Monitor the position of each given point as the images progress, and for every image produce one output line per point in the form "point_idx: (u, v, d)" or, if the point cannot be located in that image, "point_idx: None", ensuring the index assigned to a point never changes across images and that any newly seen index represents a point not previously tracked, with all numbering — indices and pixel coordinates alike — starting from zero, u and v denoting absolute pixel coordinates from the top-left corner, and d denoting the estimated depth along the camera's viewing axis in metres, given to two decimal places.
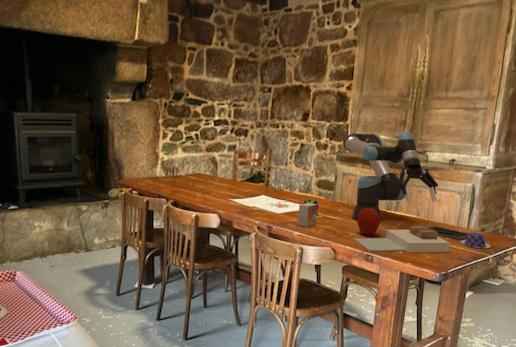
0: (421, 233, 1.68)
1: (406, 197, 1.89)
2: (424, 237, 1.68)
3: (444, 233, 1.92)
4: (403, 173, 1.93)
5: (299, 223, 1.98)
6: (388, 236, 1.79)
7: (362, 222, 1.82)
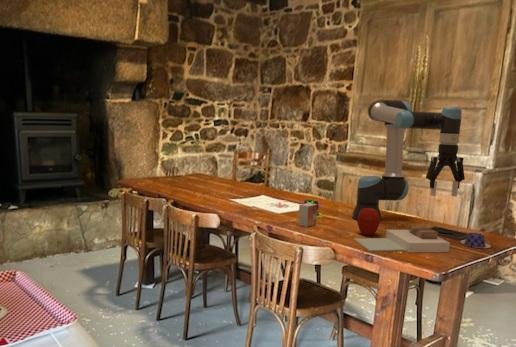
0: (421, 233, 1.68)
1: (432, 192, 1.72)
2: (424, 237, 1.68)
3: (444, 233, 1.92)
4: (435, 163, 1.68)
5: (299, 223, 1.98)
6: (388, 236, 1.79)
7: (362, 222, 1.82)
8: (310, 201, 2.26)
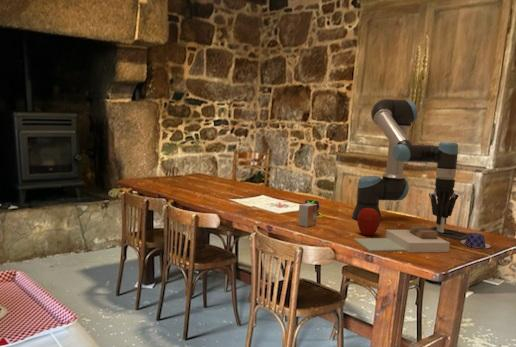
0: (421, 233, 1.68)
1: (438, 227, 1.74)
2: (424, 237, 1.68)
3: (444, 233, 1.92)
4: (435, 200, 1.71)
5: (299, 223, 1.98)
6: (388, 236, 1.79)
7: (362, 222, 1.82)
8: (311, 201, 2.26)
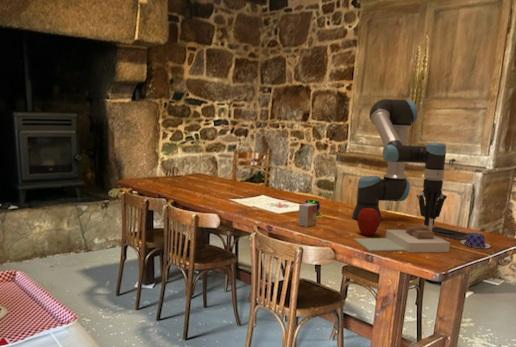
0: (417, 233, 1.68)
1: (426, 228, 1.73)
2: (420, 237, 1.68)
3: (444, 233, 1.92)
4: (423, 201, 1.70)
5: (299, 223, 1.98)
6: (388, 236, 1.79)
7: (362, 222, 1.82)
8: (311, 201, 2.26)
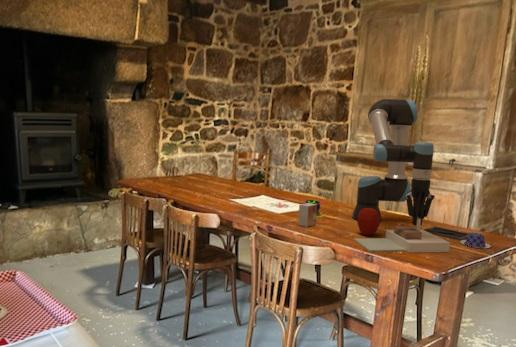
0: (405, 233, 1.67)
1: (414, 228, 1.73)
2: (408, 237, 1.67)
3: (445, 233, 1.92)
4: (410, 201, 1.69)
5: (299, 223, 1.98)
6: (388, 236, 1.79)
7: (362, 222, 1.82)
8: (312, 201, 2.26)
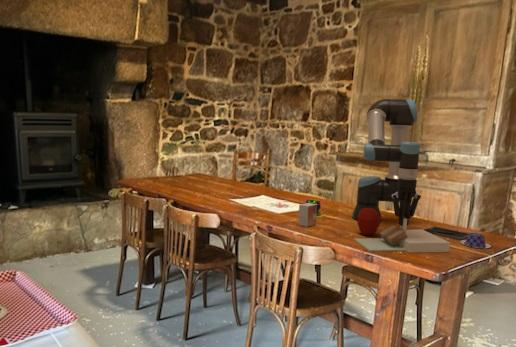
0: (390, 240, 1.66)
1: None
2: (394, 242, 1.66)
3: (445, 233, 1.92)
4: (396, 201, 1.68)
5: (299, 223, 1.98)
6: None
7: (362, 222, 1.82)
8: (312, 201, 2.27)
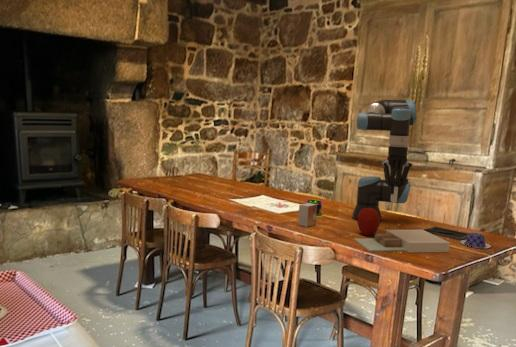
0: (384, 241, 1.66)
1: (391, 197, 1.69)
2: (387, 245, 1.66)
3: (444, 233, 1.92)
4: (387, 168, 1.65)
5: (299, 223, 1.98)
6: None
7: (362, 222, 1.82)
8: (313, 201, 2.27)
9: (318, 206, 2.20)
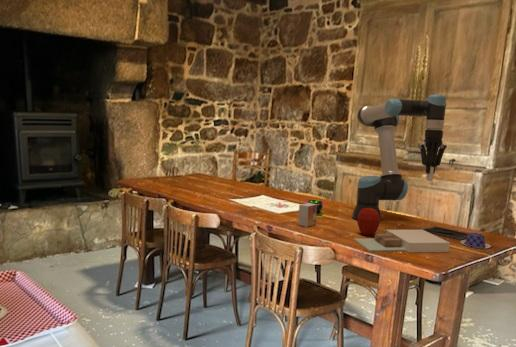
0: (384, 241, 1.66)
1: (427, 177, 1.85)
2: (387, 245, 1.66)
3: (444, 233, 1.92)
4: (424, 150, 1.81)
5: (299, 223, 1.98)
6: None
7: (362, 222, 1.82)
8: (314, 201, 2.27)
9: (319, 206, 2.20)
